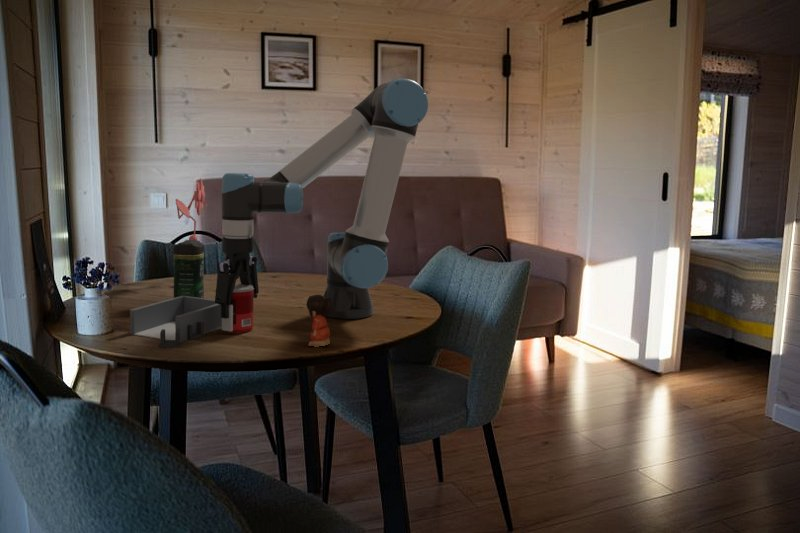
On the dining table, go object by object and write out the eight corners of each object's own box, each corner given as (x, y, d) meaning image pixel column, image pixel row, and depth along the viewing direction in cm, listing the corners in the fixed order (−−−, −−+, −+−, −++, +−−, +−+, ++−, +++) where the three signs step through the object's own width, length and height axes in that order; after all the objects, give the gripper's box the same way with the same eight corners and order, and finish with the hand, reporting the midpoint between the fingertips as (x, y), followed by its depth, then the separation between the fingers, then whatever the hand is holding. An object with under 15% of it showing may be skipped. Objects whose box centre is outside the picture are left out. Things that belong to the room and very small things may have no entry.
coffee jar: (199, 308, 188) (198, 243, 185) (170, 307, 187) (169, 242, 184) (207, 300, 197) (206, 238, 194) (180, 300, 197) (179, 237, 194)
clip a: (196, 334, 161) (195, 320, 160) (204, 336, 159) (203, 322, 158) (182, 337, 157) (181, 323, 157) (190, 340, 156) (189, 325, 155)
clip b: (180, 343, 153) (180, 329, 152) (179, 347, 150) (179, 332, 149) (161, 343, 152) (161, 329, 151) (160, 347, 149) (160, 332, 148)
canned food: (255, 326, 171) (256, 284, 169) (249, 334, 163) (250, 290, 161) (225, 325, 170) (225, 283, 169) (218, 333, 163) (218, 289, 161)
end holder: (229, 324, 171) (229, 301, 170) (179, 342, 154) (179, 317, 153) (183, 317, 176) (182, 295, 175) (130, 334, 158) (129, 309, 158)
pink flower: (169, 289, 210) (170, 178, 205) (185, 275, 235) (186, 176, 230) (219, 291, 212) (221, 181, 207) (229, 277, 237) (232, 178, 232)
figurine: (331, 340, 160) (332, 292, 158) (333, 347, 154) (334, 297, 153) (305, 341, 159) (306, 292, 157) (306, 347, 153) (307, 297, 151)
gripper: (248, 231, 174) (248, 316, 177) (198, 239, 155) (198, 334, 158) (273, 233, 171) (272, 319, 175) (225, 242, 152) (225, 338, 156)
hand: (237, 326), depth 167 cm, fingers closed on canned food, 8 cm apart
